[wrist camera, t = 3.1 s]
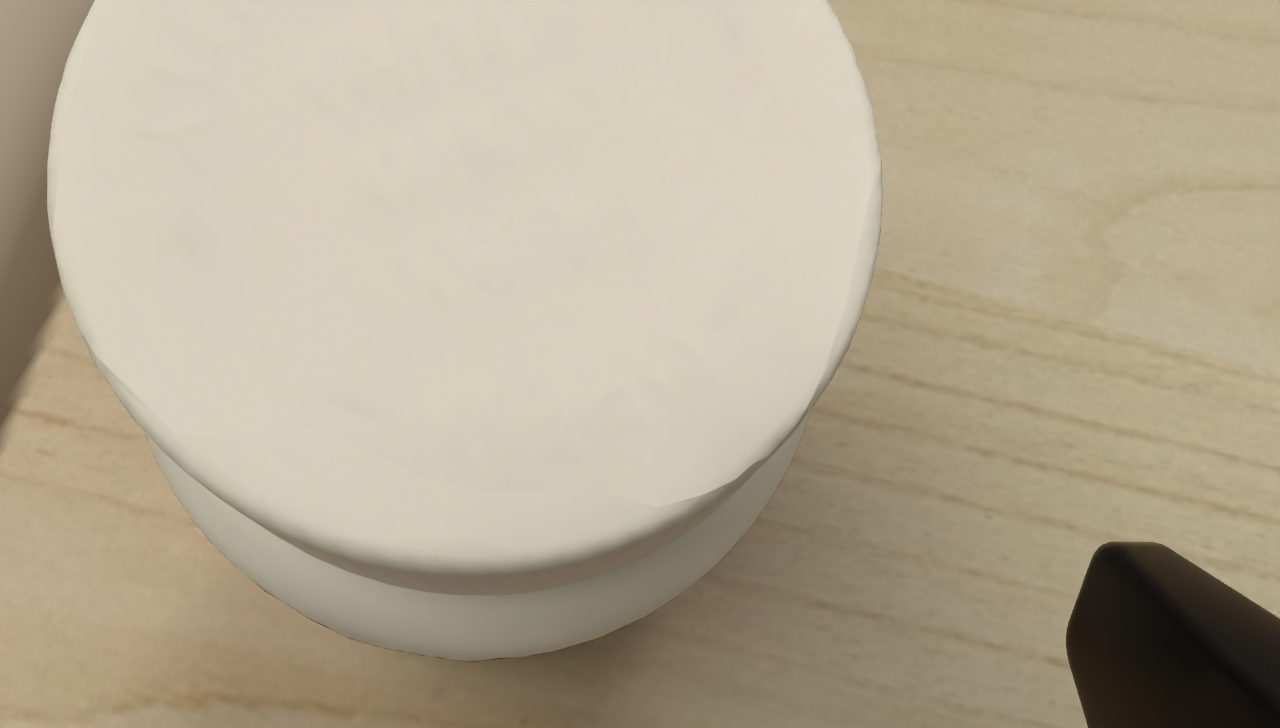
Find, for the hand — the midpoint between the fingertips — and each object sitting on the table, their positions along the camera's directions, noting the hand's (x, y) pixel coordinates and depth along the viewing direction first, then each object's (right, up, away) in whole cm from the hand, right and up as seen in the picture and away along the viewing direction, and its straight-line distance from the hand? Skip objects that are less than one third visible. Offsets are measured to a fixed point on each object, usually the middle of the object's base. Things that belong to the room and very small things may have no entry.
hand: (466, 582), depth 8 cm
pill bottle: (-1, 0, +10) cm, 10 cm away
